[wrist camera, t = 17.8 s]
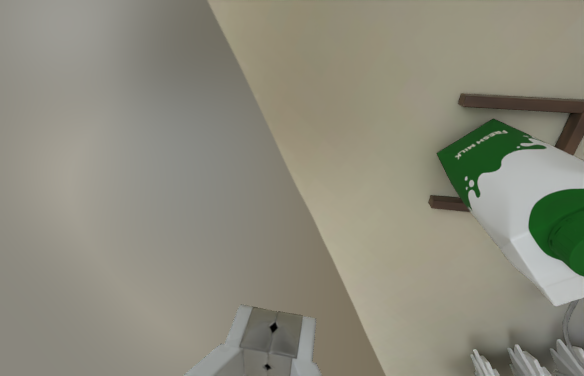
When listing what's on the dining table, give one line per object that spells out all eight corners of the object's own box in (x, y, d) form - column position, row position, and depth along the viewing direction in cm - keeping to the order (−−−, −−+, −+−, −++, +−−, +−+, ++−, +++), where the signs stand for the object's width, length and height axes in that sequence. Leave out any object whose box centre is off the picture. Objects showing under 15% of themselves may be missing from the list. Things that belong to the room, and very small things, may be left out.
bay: (460, 93, 32) (466, 95, 30) (590, 100, 30) (601, 102, 29) (428, 202, 38) (431, 208, 37) (532, 212, 37) (539, 218, 35)
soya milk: (497, 106, 32) (697, 185, 14) (531, 165, 34) (738, 294, 16) (425, 152, 35) (513, 260, 18) (460, 202, 38) (569, 341, 20)
